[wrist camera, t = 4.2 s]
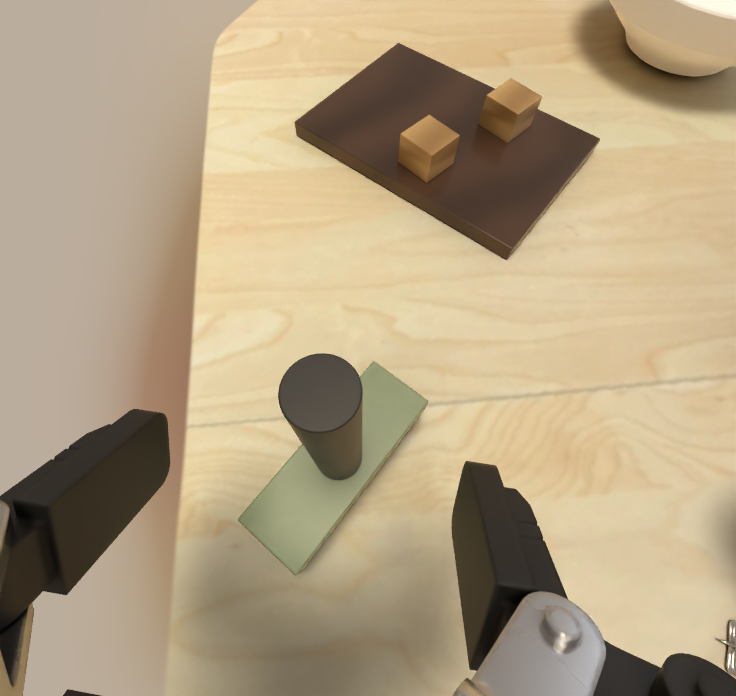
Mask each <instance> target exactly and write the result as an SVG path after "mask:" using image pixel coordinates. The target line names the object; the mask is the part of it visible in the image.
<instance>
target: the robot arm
mask: <svg viewBox="0 0 736 696" xmlns="http://www.w3.org/2000/svg"><path fill="white" fill-rule="evenodd" d="M169 467H170V453H169V437H168V422H167V418H166V416H165V414H163V413H158V412H152V411H145V410H139V409H133V410H131V411H129V412H128V413H127V414H125V415H124V416H122V417H121V418H120V419H118V420H117V421H116V422H114V423H113V424H112V425H110V424H109V425H106V426H104V427H101V428H99V429H97V430H94V431H92V432H90V433H87V434H86V435H84V436H83V437H82V438H80V439H79V440H77V441H76V442H74V443H73V444H72V445H70V446H69V449H65V450H64V451H62V452H61V453H59V454H58V455H56V456H55V458H54V460H50V461H48V462H47V463H45V464H44V465H43V466H41V467H40V468H38V469H37V470H36V471H34V472H33V473H31V474H30V475H29V476H27V477H26V478H25V479H23V480H22V481H20V482H19V483H18V484H16V485H15V486H13V487H12V488H11V489H9V490H8V491H7V492H5V493H4V494H2V495H1V496H0V696H23V689H24V682H25V674H26V667H27V660H28V652H29V645H30V638H31V630H32V623H33V616H34V608H33V604H32V602H33V601H34V600H35V599H36V598H37V597H38V596H39V595H40V594H41V592H42V591H47V592H52V593H57V594H63V595H67V594H68V593H69V592H70V591H71V589H72V588H73V587H74V586H75V585H76V584H77V582H78V581H79V580H80V579H81V578H82V577H83V576H84V574H85V573H86V572H87V571H88V570H89V569H90V568H91V566H92V565H93V564H94V563H95V562H96V560H98V558H99V557H100V556H101V555H102V554H103V553H104V551H105V550H106V549H107V548H108V547H109V545H110V544H111V543H112V542H113V541H114V540H115V539H116V538H117V537H118V535H119V534H120V533H121V532H122V531H123V529H124V528H125V527H126V526H127V525H128V524H129V523H130V522H131V520H132V519H133V518H134V517H135V516H136V515H137V513H138V512H139V511H140V510H141V509H142V508H143V506H144V505H145V504H146V503H147V502H148V501H149V500H150V499H151V497H152V496H153V495H154V494H155V493H156V491H157V490H158V489H159V488H160V487H161V486H162V484H163V483H164V481H165V479H166V477H167V475H168V472H169ZM452 538H453V546H454V553H455V561H456V569H457V576H458V584H459V592H460V599H461V607H462V615H463V622H464V630H465V638H466V645H467V653H468V661H469V668H470V670H475V671H477V672H476V674H475V675H474V677H473V678H472V679H471V680H469V679H468V678H466V679H465V680H464V681H463V682H462V683H461V684H460V686H459V687H458V688H457V690H456V691H455V693H454V694H453V696H736V679H735V678H733V677H732V676H731V675H729V674H728V673H727V672H725V671H724V670H722V669H721V668H719V667H718V666H716V665H714V664H712V663H711V662H709V661H707V660H704V659H702V658H700V657H697V656H694V655H690V654H684V653H679V654H673V655H671V656H669V657H668V658H667V659H666V660H665V662H664V664H663V666H662V667H661V668H660V667H658V666H656V665H653V664H651V663H649V662H647V661H645V660H643V659H640V658H638V657H636V656H634V655H632V654H630V653H627V652H625V651H623V650H621V649H619V648H617V647H615V646H613V645H611V644H610V643H608V642H607V641H605V640H604V639H603V637H602V635H601V633H600V631H599V629H598V627H597V626H596V625H595V623H594V622H593V620H592V619H591V618H590V617H589V616H588V615H587V614H586V613H585V612H584V611H583V610H582V609H581V608H580V607H578V606H577V605H576V604H574V603H573V602H571V601H569V600H568V598H567V596H566V593H565V591H564V588H563V586H562V583H561V581H560V578H559V576H558V573H557V571H556V568H555V566H554V563H553V561H552V558H551V556H550V553H549V551H548V548H547V546H546V543H545V541H543V536H542V533H541V531H540V528H539V526H537V521H536V518H535V516H534V513H533V511H532V508H531V506H530V504H529V503H528V502H527V501H526V500H525V499H524V498H523V497H522V495H521V494H520V493H519V492H518V491H517V490H516V489H512V488H506V487H504V486H503V483H502V480H501V477H500V474H499V471H498V469H497V467H496V466H495V465H489V464H483V463H476V462H470V461H466V462H465V464H464V467H463V470H462V474H461V479H460V483H459V487H458V491H457V495H456V499H455V504H454V508H453V514H452ZM63 696H100V695H94V694H89V693H84V692H79V691H74V690H67V691H66V692H65V694H64V695H63Z"/></svg>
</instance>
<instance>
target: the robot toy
mask: <svg viewBox="0 0 736 696" xmlns="http://www.w3.org/2000/svg"><path fill="white" fill-rule="evenodd" d="M720 641H721V642H723V643H725V644H727V645H728V653H727V663H726V667H727V671H728V672H729V673H731V674H733V675H736V621H735V620H732V621H730V623H729V642H728V641H725V640H720Z"/></svg>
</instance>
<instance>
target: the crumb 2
mask: <svg viewBox="0 0 736 696" xmlns="http://www.w3.org/2000/svg"><path fill="white" fill-rule="evenodd" d="M541 99H542V96H540V95H539V94H537V93H535V92H534V91H532V90H530V89H528V88H527V87H525V86H523V85H522V84H520V83H518V82H516V81H515V80H513V79H509V80H508V81H506V82H505V83H503V84H502V85H501V86H499V87H498V88H496V89H495V90H493V91H492V92H490V93H489V94H487V95H486V99H485V102H484V106H483V109H482V113H481V116H480V120H479V123H478V124H479V125H480V126H482V127H483V128H485V129H487V130H488V131H490V132H491V133H493V134H494V135H496V136H497V137H499V138H500V139H502V140H504V141H505V142H507V143H508V142H510V141H511V140H512V139H514V138H515V137H516V136H518V135H519V134H520V133H521V132H523V131H524V130H525V129H527V128H528V127H529V126H530V125H531V123H532V121H533V118H534V116H535V113H536V111H537V109H538V106H539V104H540V101H541Z"/></svg>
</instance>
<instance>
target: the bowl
mask: <svg viewBox="0 0 736 696" xmlns="http://www.w3.org/2000/svg"><path fill="white" fill-rule="evenodd" d="M608 1H609V2H610V3H611V4H612V5H613V7H614V9H615V12H616V14H617V16H618V18H619V19H620V21H621V23H622V25H623V27H624V28H625V31H626V41H627V44H628V45H629V47H630V49H631V50H632V51H633V52H634V54H635V55H637V56H638V57H639V58H640V59H641V60H643V61H645V62H646V63H648V64H649V65H651V66H654V67H656V68H658V69H660V70H663V71H666V72H669V73H673V74H678V75H684V76H707V75H712V74H715V73H718V72H720V71H722V70H724V69H725V68H727V67H732V66H736V0H608Z"/></svg>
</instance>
